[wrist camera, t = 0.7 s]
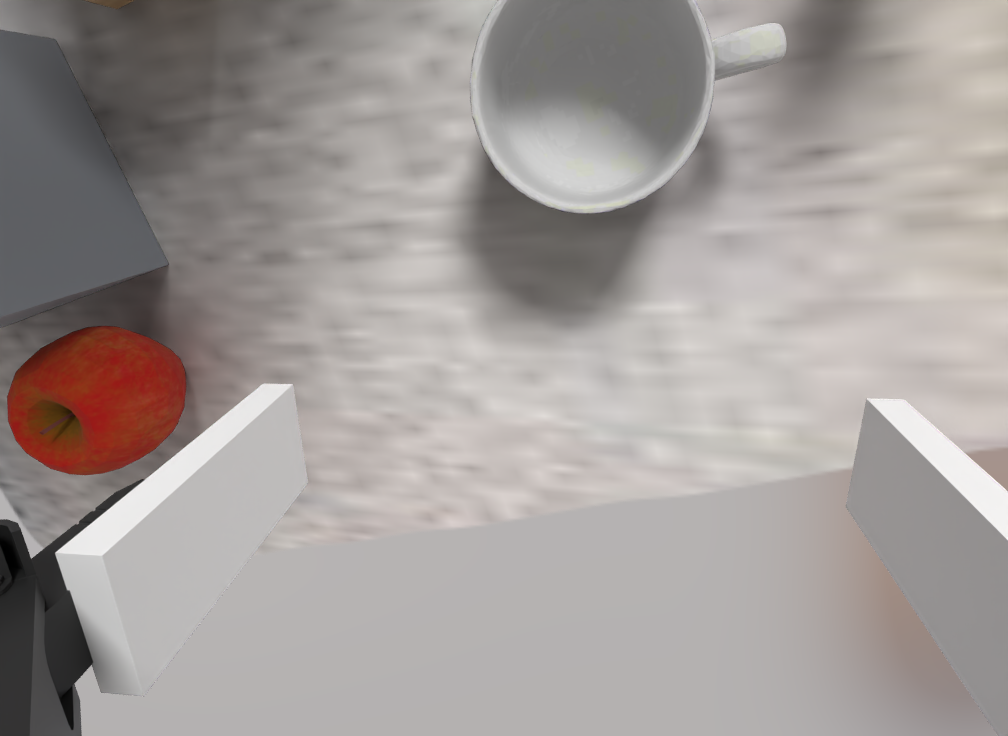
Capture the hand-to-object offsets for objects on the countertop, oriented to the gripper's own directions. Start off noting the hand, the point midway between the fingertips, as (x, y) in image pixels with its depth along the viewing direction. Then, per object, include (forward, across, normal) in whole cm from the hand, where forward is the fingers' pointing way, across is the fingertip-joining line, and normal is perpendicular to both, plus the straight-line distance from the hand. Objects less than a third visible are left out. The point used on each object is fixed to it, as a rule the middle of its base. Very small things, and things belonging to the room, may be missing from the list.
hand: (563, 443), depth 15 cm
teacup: (+25, +2, +8) cm, 27 cm away
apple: (+25, -28, -8) cm, 39 cm away
